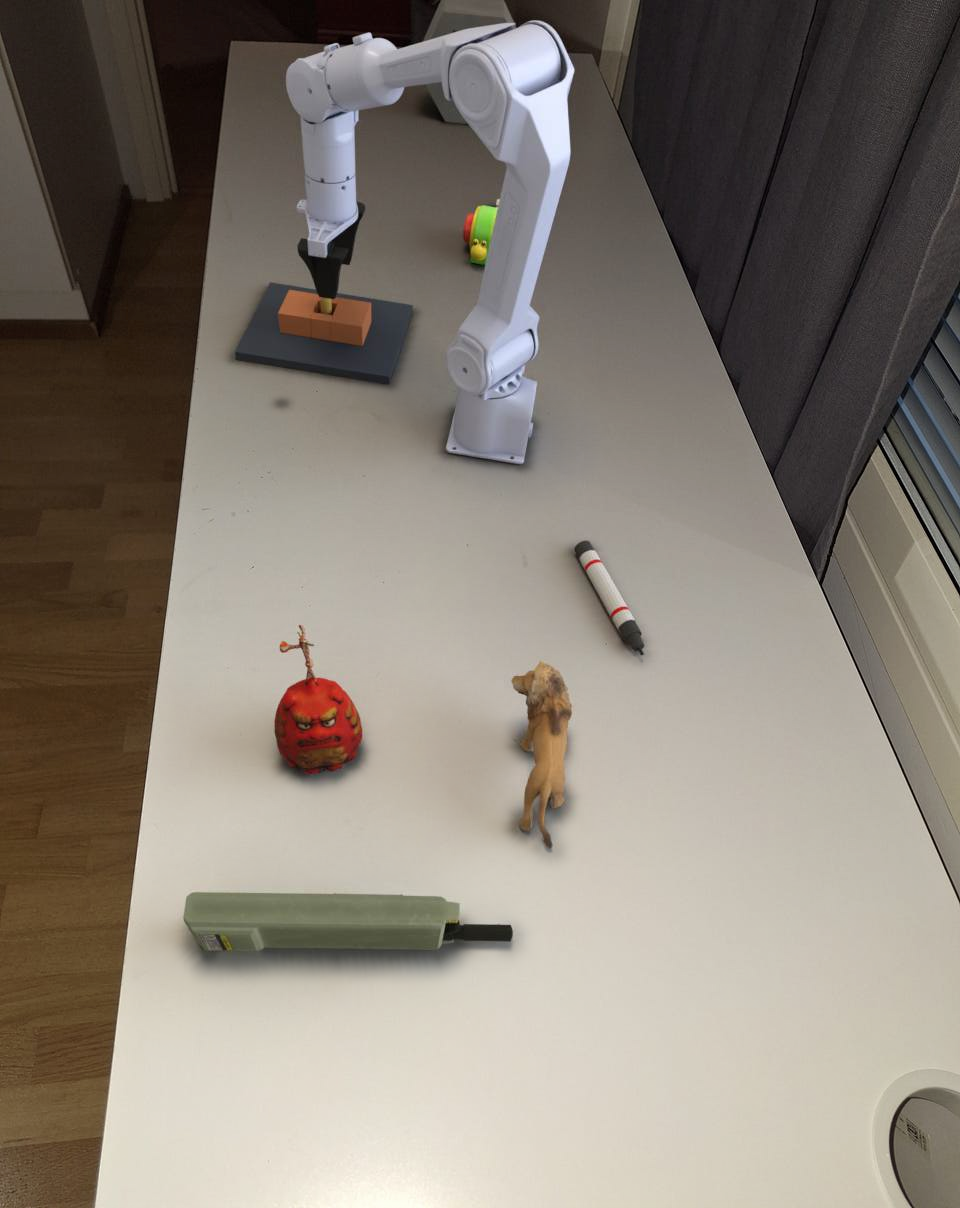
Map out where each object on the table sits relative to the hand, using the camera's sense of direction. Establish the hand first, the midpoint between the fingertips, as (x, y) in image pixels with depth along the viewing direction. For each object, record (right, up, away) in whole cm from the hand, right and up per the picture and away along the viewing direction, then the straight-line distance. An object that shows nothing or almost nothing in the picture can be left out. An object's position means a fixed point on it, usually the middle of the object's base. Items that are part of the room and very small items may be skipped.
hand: (334, 279), depth 112 cm
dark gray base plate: (-2, -4, +8) cm, 10 cm away
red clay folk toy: (+3, -53, -29) cm, 61 cm away
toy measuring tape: (+20, +16, +27) cm, 37 cm away
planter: (+16, +48, +51) cm, 72 cm away
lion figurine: (+23, -56, -28) cm, 67 cm away
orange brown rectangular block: (-2, -4, +7) cm, 8 cm away
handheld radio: (+8, -67, -39) cm, 78 cm away
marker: (+32, -41, -16) cm, 54 cm away
